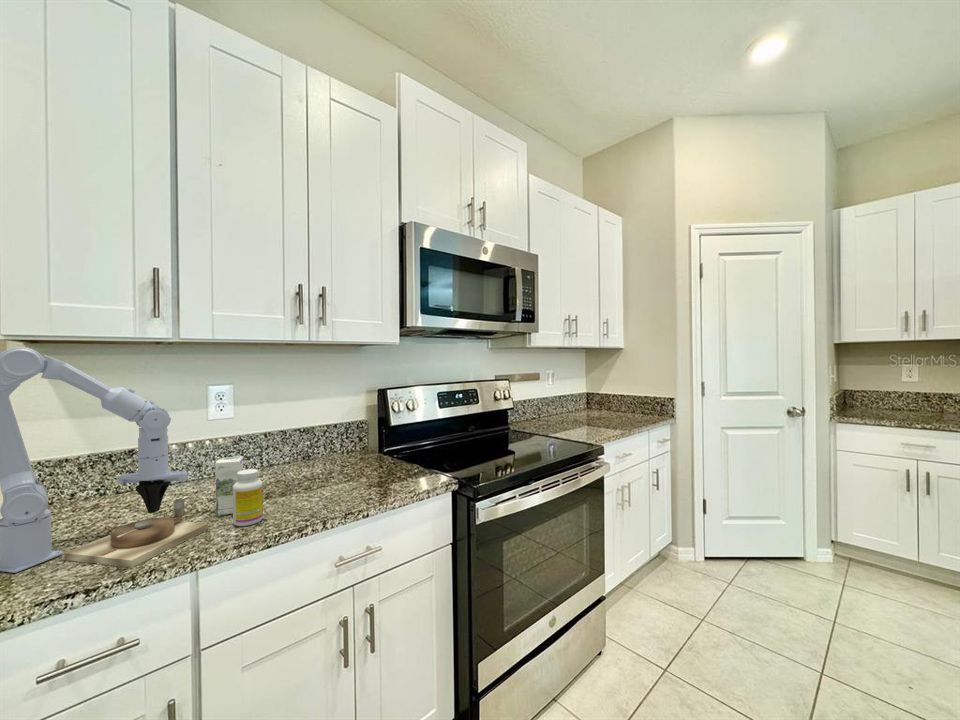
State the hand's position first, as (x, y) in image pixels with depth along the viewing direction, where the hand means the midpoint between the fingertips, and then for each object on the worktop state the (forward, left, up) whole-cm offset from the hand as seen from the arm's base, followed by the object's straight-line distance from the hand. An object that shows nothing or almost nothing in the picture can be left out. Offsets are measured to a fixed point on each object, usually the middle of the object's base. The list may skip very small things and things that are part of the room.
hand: (153, 511), depth 98 cm
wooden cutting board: (+5, -7, -5) cm, 9 cm away
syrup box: (+9, +13, -5) cm, 17 cm away
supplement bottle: (+19, +8, -5) cm, 21 cm away
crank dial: (+5, -5, -3) cm, 7 cm away
